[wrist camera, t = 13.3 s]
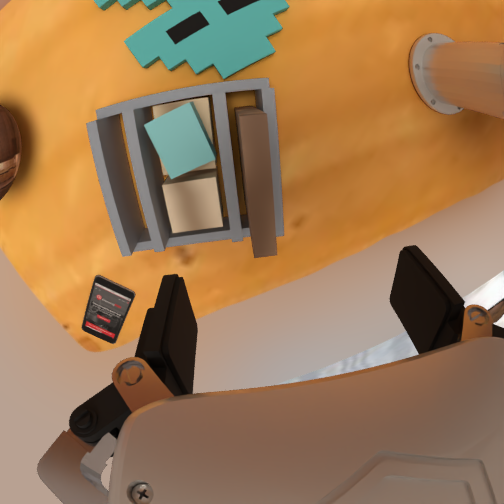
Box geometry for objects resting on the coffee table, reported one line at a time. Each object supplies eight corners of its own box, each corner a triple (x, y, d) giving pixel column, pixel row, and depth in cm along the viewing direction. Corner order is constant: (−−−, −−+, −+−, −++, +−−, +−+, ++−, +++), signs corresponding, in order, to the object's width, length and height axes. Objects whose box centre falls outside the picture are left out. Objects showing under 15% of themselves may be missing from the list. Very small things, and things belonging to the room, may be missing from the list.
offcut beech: (216, 165, 35) (215, 177, 31) (223, 209, 38) (222, 226, 34) (169, 173, 35) (162, 185, 30) (178, 215, 38) (172, 233, 34)
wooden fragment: (464, 347, 65) (465, 349, 64) (461, 331, 60) (463, 333, 59) (521, 294, 58) (523, 296, 57) (522, 273, 53) (524, 276, 52)
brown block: (251, 105, 31) (266, 113, 19) (260, 198, 37) (277, 255, 26) (234, 107, 31) (239, 116, 19) (244, 199, 37) (254, 258, 25)
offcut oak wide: (210, 96, 30) (207, 97, 27) (216, 159, 35) (215, 167, 31) (160, 104, 30) (152, 106, 27) (169, 166, 34) (163, 175, 31)
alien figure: (98, 1, 21) (176, 109, 31) (92, -3, 19) (172, 110, 29) (236, -73, 17) (319, 33, 27) (236, -81, 15) (325, 30, 25)
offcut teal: (192, 101, 27) (189, 102, 24) (216, 153, 30) (215, 159, 28) (151, 121, 28) (143, 124, 25) (175, 171, 31) (171, 179, 28)
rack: (263, 79, 29) (272, 76, 24) (275, 219, 39) (284, 245, 33) (108, 107, 29) (84, 112, 23) (139, 237, 39) (125, 265, 33)
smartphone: (81, 329, 47) (95, 274, 41) (82, 327, 48) (97, 271, 42) (114, 344, 49) (136, 293, 43) (115, 342, 50) (137, 290, 44)
